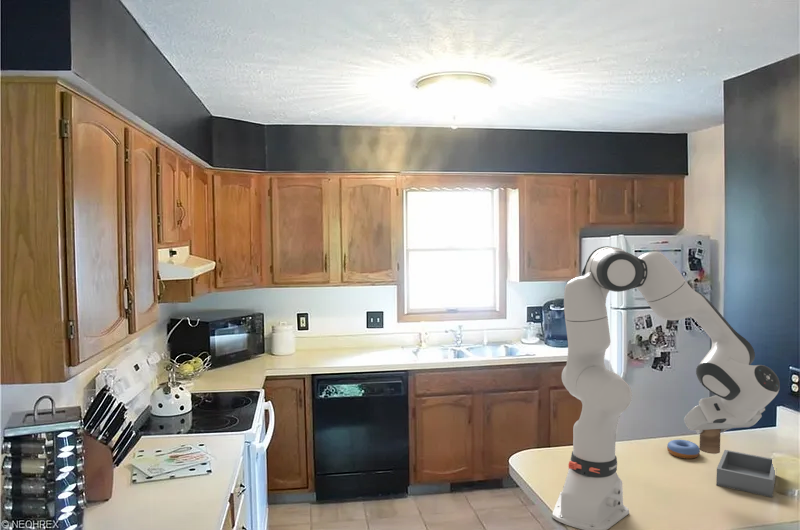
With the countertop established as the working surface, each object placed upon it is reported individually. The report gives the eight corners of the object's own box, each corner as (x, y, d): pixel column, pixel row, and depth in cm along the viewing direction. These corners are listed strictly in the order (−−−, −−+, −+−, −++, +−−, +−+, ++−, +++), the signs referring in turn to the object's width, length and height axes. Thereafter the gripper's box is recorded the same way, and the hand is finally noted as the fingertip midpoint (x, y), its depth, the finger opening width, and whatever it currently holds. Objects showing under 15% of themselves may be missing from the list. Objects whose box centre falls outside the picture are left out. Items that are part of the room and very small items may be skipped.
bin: (772, 497, 163) (772, 480, 163) (716, 485, 172) (716, 468, 171) (776, 475, 178) (776, 459, 178) (724, 464, 186) (724, 449, 186)
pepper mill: (718, 455, 162) (719, 415, 162) (698, 451, 165) (699, 412, 165) (721, 449, 166) (722, 411, 166) (701, 445, 169) (702, 408, 169)
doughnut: (706, 459, 190) (705, 445, 191) (676, 461, 190) (674, 447, 191) (691, 450, 200) (690, 437, 200) (662, 452, 200) (661, 439, 201)
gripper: (762, 395, 160) (735, 418, 170) (695, 399, 156) (672, 422, 167) (774, 416, 155) (746, 439, 166) (706, 420, 152) (681, 443, 162)
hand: (708, 431), depth 166 cm, fingers closed on pepper mill, 5 cm apart
